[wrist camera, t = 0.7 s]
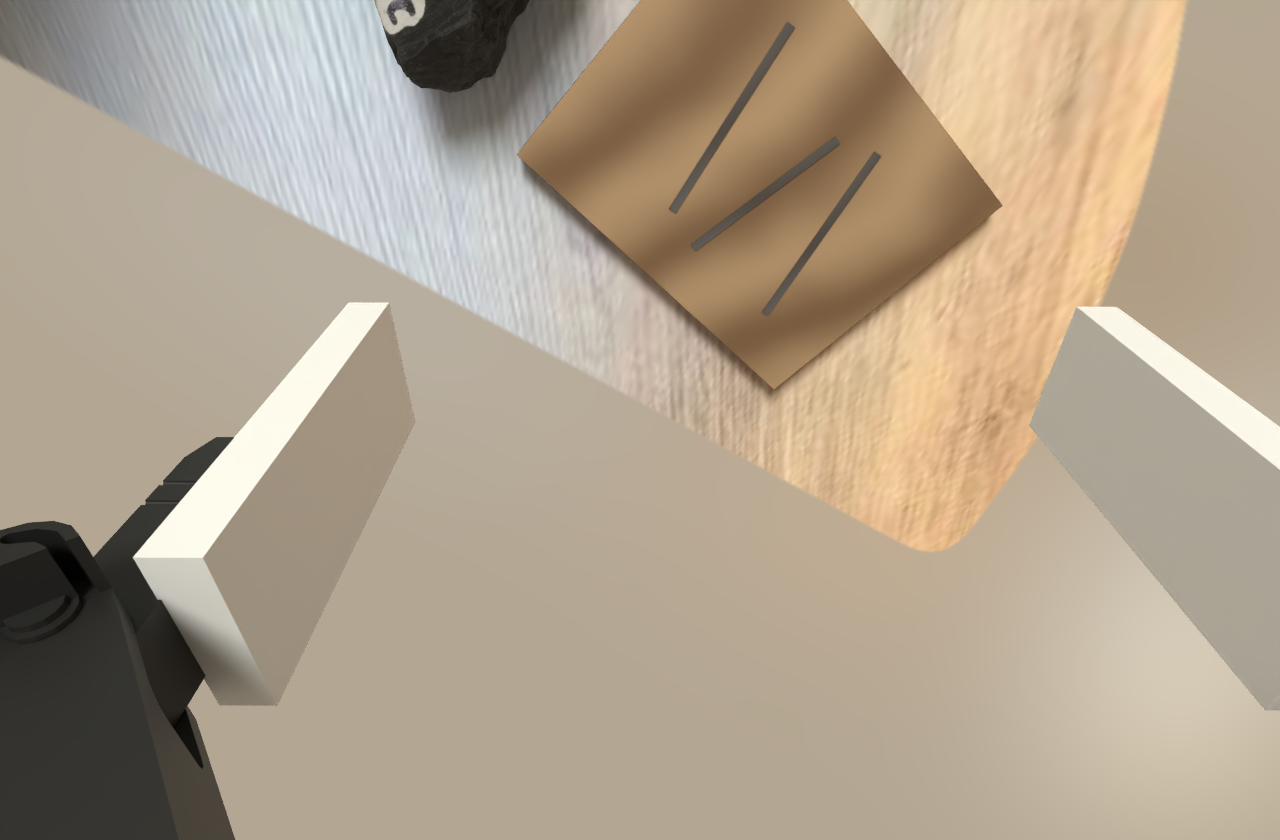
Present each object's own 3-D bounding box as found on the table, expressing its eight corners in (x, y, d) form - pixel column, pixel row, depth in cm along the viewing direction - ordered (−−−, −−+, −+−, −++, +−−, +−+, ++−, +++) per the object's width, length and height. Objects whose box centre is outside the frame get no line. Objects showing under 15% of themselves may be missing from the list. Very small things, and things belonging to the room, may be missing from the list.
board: (521, 148, 32) (516, 155, 31) (743, -128, 26) (747, -132, 25) (770, 378, 39) (774, 389, 38) (991, 198, 33) (1003, 206, 32)
